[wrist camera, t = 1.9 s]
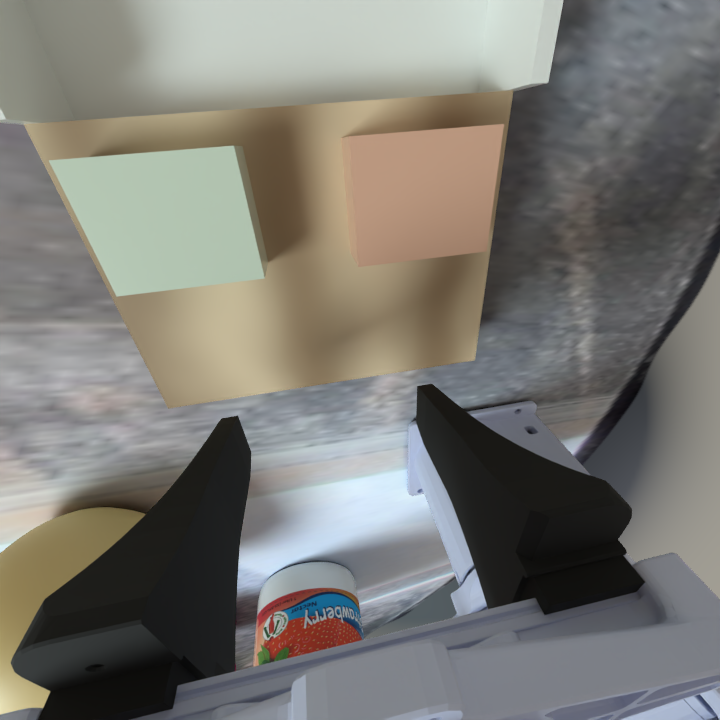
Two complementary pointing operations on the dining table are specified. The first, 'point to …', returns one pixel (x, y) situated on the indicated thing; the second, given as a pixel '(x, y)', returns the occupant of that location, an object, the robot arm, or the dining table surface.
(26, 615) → the sculpture
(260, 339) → the board
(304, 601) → the fruit juice
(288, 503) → the dining table surface
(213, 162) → the tile
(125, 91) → the tray
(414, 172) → the tile
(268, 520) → the dining table surface
